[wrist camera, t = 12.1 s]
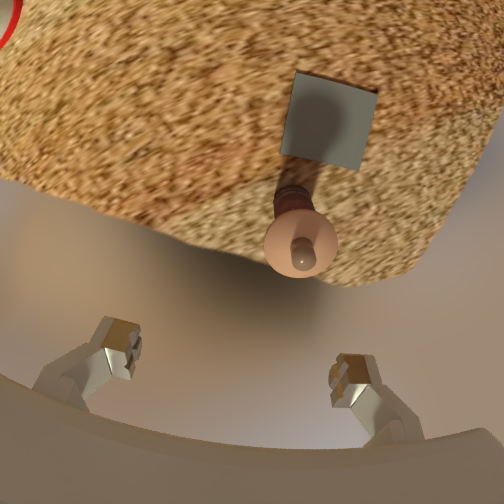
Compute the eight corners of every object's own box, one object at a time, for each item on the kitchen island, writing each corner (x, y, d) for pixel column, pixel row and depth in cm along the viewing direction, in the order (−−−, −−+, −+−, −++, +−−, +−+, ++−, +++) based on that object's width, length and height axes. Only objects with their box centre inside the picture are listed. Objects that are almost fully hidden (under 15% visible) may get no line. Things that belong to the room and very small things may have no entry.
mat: (295, 72, 39) (296, 72, 38) (376, 94, 40) (378, 95, 39) (279, 152, 46) (279, 153, 45) (357, 170, 46) (358, 171, 46)
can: (301, 176, 47) (314, 211, 35) (315, 209, 50) (331, 253, 38) (266, 191, 49) (267, 230, 37) (282, 223, 52) (287, 270, 40)
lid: (270, 203, 35) (271, 218, 32) (344, 215, 36) (353, 231, 32) (258, 267, 40) (258, 287, 36) (325, 276, 40) (330, 296, 37)
